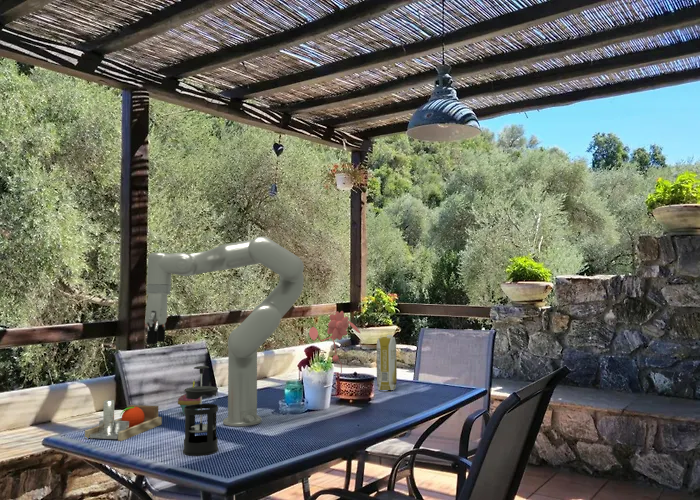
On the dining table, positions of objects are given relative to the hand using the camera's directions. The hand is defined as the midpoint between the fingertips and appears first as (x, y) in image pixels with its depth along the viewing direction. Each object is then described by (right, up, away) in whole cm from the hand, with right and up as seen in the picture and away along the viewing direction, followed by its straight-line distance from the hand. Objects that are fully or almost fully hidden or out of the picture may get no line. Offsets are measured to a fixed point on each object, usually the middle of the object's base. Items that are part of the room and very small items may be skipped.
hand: (155, 342), depth 195 cm
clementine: (-6, -27, -5) cm, 28 cm away
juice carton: (+80, -31, +66) cm, 108 cm away
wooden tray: (-7, -27, -8) cm, 29 cm away
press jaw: (-9, -26, -16) cm, 31 cm away
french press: (+22, -25, -32) cm, 46 cm away
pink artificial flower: (+59, -31, +57) cm, 88 cm away
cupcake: (+6, -29, +19) cm, 35 cm away
